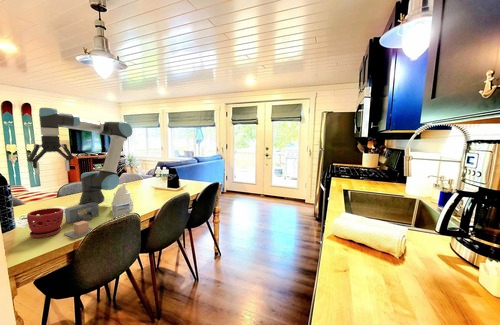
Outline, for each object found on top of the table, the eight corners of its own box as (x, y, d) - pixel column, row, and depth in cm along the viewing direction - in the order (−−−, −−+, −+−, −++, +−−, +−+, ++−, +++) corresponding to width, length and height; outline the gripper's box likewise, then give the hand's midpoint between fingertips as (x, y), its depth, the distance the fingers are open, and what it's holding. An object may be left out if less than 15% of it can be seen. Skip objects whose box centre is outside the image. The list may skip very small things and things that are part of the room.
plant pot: (50, 239, 101) (48, 215, 100) (20, 239, 100) (18, 215, 99) (70, 228, 114) (69, 206, 113) (45, 228, 113) (43, 206, 112)
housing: (94, 214, 135) (93, 202, 134) (98, 215, 133) (98, 203, 132) (65, 222, 122) (64, 208, 121) (70, 223, 120) (69, 210, 119)
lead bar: (84, 216, 132) (84, 211, 131) (91, 220, 126) (91, 215, 126) (76, 218, 128) (76, 213, 128) (83, 222, 123) (83, 217, 123)
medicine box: (116, 220, 126) (116, 206, 125) (113, 219, 128) (112, 205, 127) (130, 216, 133) (129, 203, 132) (126, 215, 135) (125, 202, 134)
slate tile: (86, 227, 116) (86, 226, 116) (97, 231, 111) (97, 230, 111) (64, 234, 107) (64, 233, 107) (75, 239, 102) (75, 237, 102)
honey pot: (127, 205, 154) (126, 181, 152) (137, 208, 148) (136, 183, 146) (108, 210, 143) (106, 184, 141) (118, 214, 137) (116, 187, 135)
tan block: (84, 229, 112) (83, 220, 111) (88, 231, 110) (88, 222, 109) (74, 232, 108) (73, 223, 107) (78, 234, 106) (78, 225, 105)
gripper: (72, 136, 132) (74, 169, 135) (16, 134, 110) (20, 174, 112) (79, 136, 129) (81, 170, 132) (22, 135, 107) (26, 176, 109)
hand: (53, 172), depth 122 cm, fingers open, 13 cm apart
